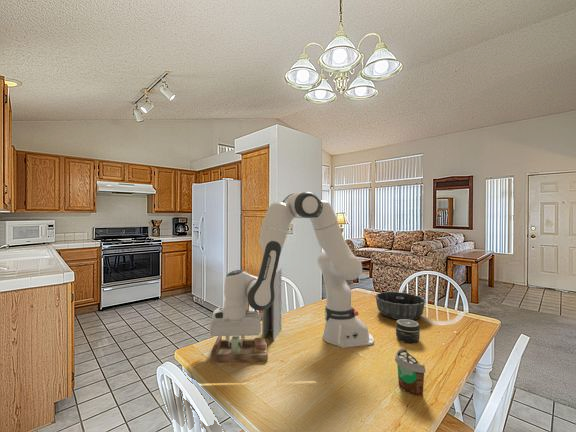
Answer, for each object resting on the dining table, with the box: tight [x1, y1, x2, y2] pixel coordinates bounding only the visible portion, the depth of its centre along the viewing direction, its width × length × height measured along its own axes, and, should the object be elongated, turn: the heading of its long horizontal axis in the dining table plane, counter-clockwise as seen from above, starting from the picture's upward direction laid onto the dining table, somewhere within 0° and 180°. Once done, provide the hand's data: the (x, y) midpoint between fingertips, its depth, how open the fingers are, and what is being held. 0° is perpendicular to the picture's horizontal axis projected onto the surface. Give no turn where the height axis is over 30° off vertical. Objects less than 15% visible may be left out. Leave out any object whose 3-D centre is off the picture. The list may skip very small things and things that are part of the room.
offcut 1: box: [254, 337, 266, 351], centre depth 116 cm, size 4×6×2 cm, turn 10°
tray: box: [210, 336, 269, 364], centre depth 115 cm, size 21×14×5 cm, turn 92°
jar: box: [395, 318, 421, 345], centre depth 129 cm, size 10×10×8 cm
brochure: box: [261, 267, 282, 342], centre depth 134 cm, size 14×6×30 cm, turn 168°
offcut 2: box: [254, 343, 267, 354], centre depth 116 cm, size 5×8×2 cm, turn 2°
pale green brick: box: [230, 336, 241, 354], centre depth 115 cm, size 2×6×6 cm, turn 2°
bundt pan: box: [374, 291, 427, 321], centre depth 161 cm, size 26×26×10 cm
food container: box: [394, 347, 426, 397], centre depth 94 cm, size 12×6×10 cm, turn 5°
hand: (235, 345), depth 115 cm, fingers closed on pale green brick, 2 cm apart
